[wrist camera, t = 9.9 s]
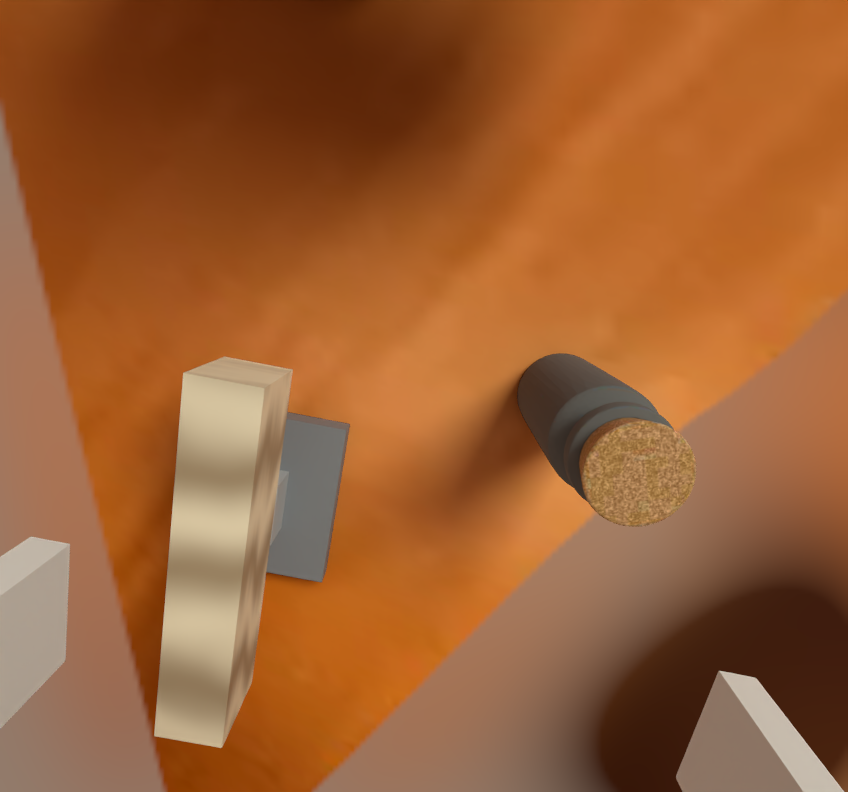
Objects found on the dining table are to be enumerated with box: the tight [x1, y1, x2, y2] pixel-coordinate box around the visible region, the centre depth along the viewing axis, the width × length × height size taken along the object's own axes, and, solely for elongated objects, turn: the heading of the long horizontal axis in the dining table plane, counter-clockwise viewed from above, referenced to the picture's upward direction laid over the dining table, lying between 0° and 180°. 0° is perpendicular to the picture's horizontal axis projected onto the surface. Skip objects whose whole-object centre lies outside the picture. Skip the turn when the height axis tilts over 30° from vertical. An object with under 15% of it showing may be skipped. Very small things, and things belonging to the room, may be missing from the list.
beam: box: [154, 357, 293, 748], centre depth 30 cm, size 22×4×5 cm, turn 169°
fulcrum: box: [266, 412, 350, 582], centre depth 35 cm, size 12×10×6 cm
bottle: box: [517, 354, 696, 526], centre depth 29 cm, size 6×6×15 cm
